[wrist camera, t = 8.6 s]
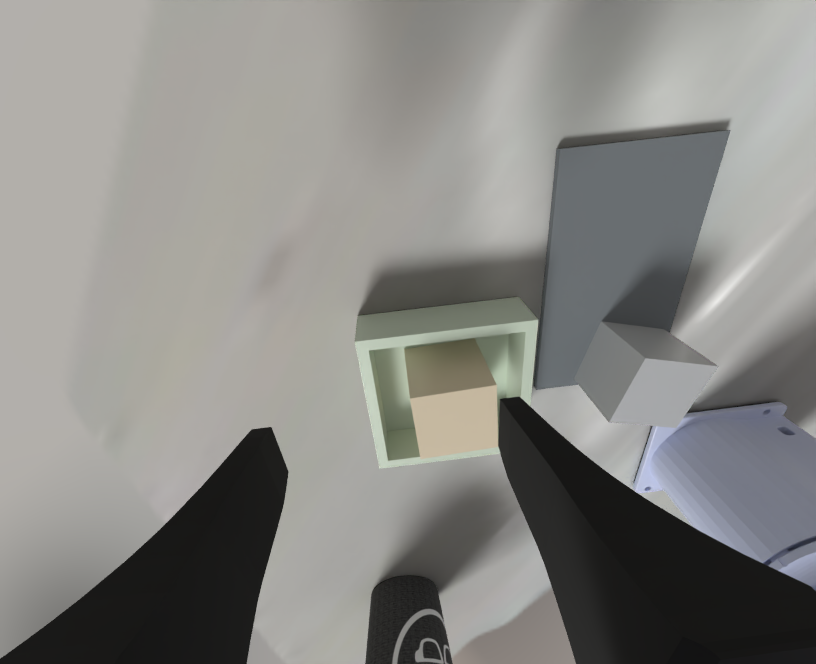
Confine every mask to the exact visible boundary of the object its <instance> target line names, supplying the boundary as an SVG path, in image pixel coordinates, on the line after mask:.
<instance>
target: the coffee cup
mask: <svg viewBox="0 0 816 664" xmlns="http://www.w3.org/2000/svg"><path fill="white" fill-rule="evenodd" d="M365 664H453V663H452V658H451V653H450V649H449V644H448V639H447V634H446V629H445V624H444V620H443V615H442V610H441V605H440V600H439V595H438V591H437V587H436V585H435V584H434V583H433V582H432V581H430V580H428V579H426V578H423V577H418V576H400V577H395V578H391V579H388V580H386V581H384V582H382V583H380V584H379V585H378V586H376V587H375V589H374V590H373V592H372V595H371V606H370V617H369V629H368V640H367V652H366V663H365Z"/></svg>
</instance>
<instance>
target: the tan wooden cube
mask: <svg viewBox="0 0 816 664" xmlns="http://www.w3.org/2000/svg"><path fill="white" fill-rule="evenodd" d="M404 353H405V362H406V370H407V378H408V386H409V395H410V402H411V407H412V413H413V419H414V424H415V430H416V436H417V442H418V447H419V453H420V459H425V458H431V457H438V456H444V455H451V454H457V453H463V452H470V451H476V450H482V449H489V448H495V447H498V416H497V384H496V382H495V380H494V378H493V376H492V374H491V372H490V370H489V367H488V365H487V363H486V361H485V359H484V357H483V355H482V353H481V351H480V348H479V346H478V344H477V342H476V340H475V338H473V339H466V340H460V341H454V342H447V343H441V344H435V345H428V346H422V347H416V348H409V349H404Z"/></svg>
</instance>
